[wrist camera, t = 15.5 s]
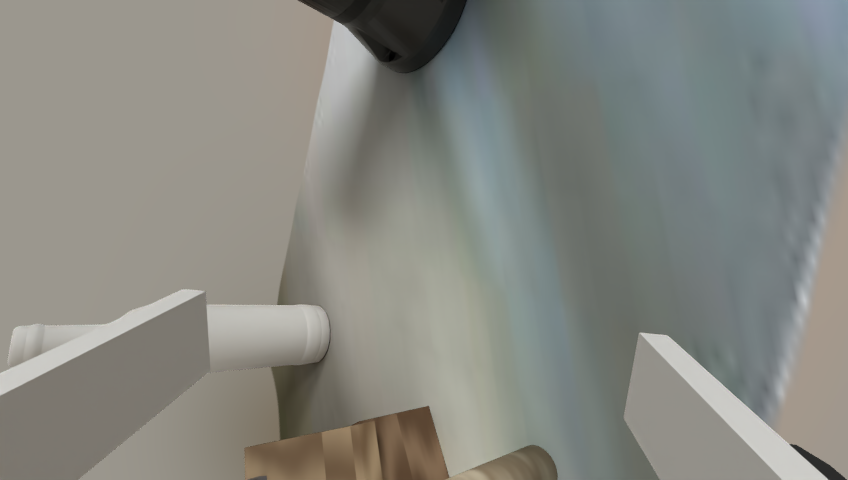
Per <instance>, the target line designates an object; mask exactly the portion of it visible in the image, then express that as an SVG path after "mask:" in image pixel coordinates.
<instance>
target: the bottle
mask: <svg viewBox="0 0 848 480" xmlns="http://www.w3.org/2000/svg"><path fill="white" fill-rule="evenodd" d="M206 305H207V304H206ZM144 307H145V306H144ZM141 308H143V307H141ZM141 308H137V309H134V310H131V311H129V312H128V313H126V314H125V315H124V316H126V315H128V314H130V313H132V312H134V311H137V310H139V309H141ZM124 316H122V317H124ZM207 321H208V337H209V354H210V371H209V372H208V373H211V372H221V371H232V370H243V369H253V368H263V367H274V366H284V365H303V364H308V363H315V362H319V361H320V360H321V359H322V358H323V357H324V355H325V353H326V351H327V349H328V345H329V341H330V325H329V320H328V317H327V314H326V312H325V311H324V310H323V309H322V307H320V306H317V305H210V304H208V305H207ZM104 325H106V324H104ZM104 325H102V324H101V325H48V326H45V325H42V324H34V325H30V326H18V327H16V328H15V329H14V330H13V334H12V338H11V343H10V349H9V355H8V365H9V366H10V367H15V366H17V365H19V364H21V363H24V362H26V361H28V360H30V359H32V358H34V357H37V356H39V355H41V354H43V353H45V352H47V351H50V350H52V349H54V348H56V347H58V346H61V345H63V344H65V343H67V342H69V341H71V340H74V339H76V338H78V337H80V336H82V335H84V334H87V333H89V332H91V331H93V330H95V329H97V328H100V327H102V326H104Z"/></svg>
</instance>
